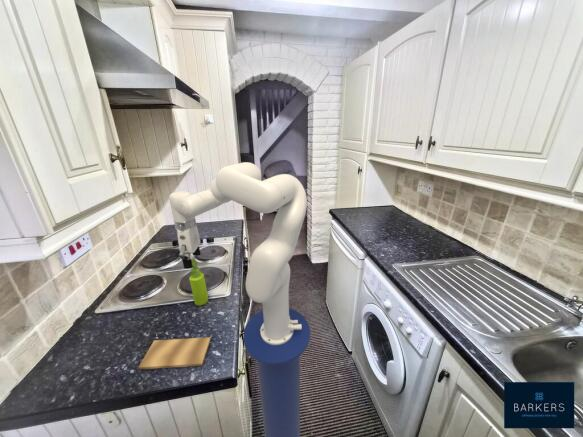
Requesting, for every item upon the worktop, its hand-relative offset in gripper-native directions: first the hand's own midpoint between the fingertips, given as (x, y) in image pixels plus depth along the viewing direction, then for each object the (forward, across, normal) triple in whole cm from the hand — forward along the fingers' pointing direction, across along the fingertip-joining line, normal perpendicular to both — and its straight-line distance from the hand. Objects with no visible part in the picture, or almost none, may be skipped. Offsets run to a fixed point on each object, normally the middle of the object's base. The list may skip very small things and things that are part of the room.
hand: (192, 261), depth 95 cm
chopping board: (+20, -26, 0) cm, 33 cm away
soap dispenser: (+20, 0, 0) cm, 20 cm away
